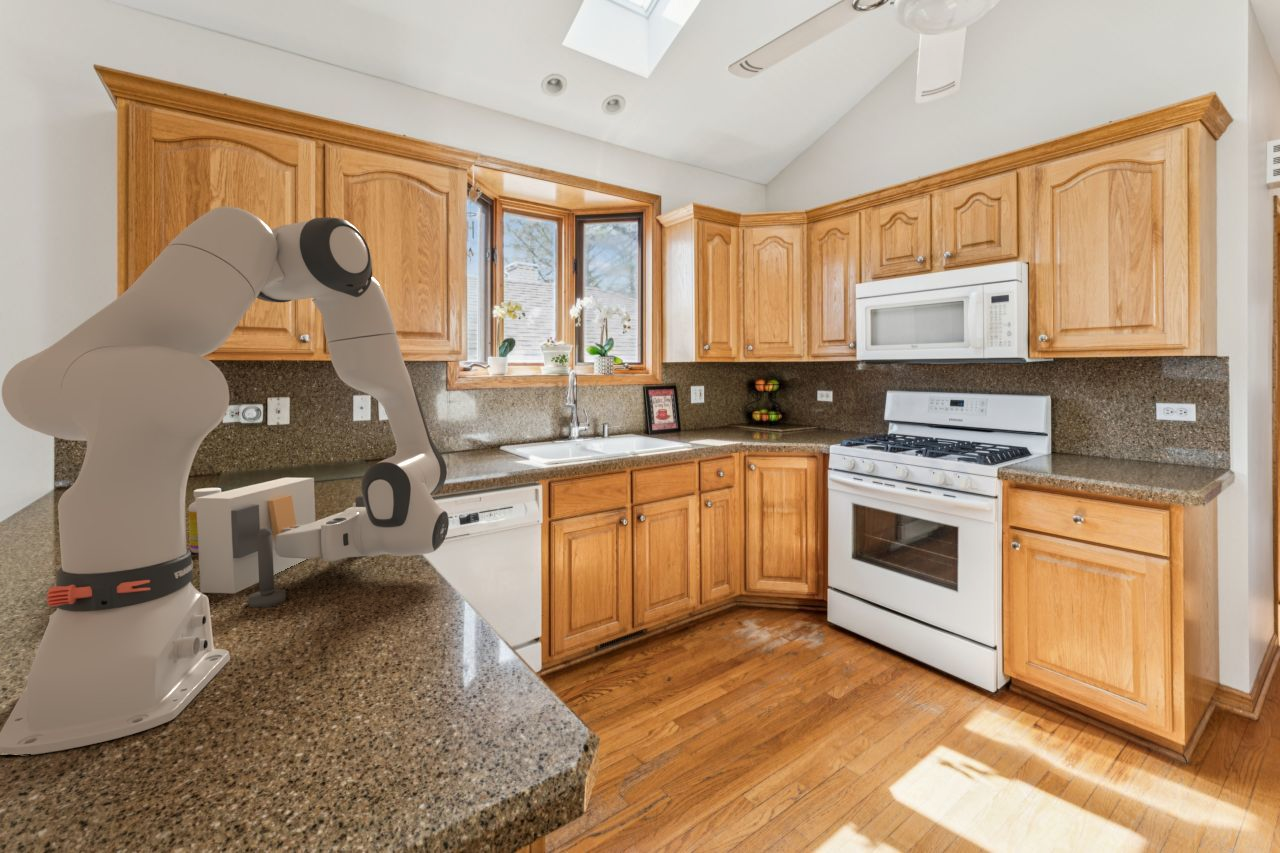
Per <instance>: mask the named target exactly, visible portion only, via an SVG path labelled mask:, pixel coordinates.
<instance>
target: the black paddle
mask: <svg viewBox="0 0 1280 853" xmlns="http://www.w3.org/2000/svg"><path fill="white" fill-rule="evenodd" d="M231 515H232V537H233V558H241V557H244V556H247V555H249V554H252V553H254V552H257V551H258V544H257V533H258V531H259V530H260V519H259V505H250V506H246V507H243V508H239V509H235V510H232V511H231Z"/></svg>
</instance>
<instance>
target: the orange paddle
mask: <svg viewBox="0 0 1280 853" xmlns="http://www.w3.org/2000/svg"><path fill="white" fill-rule="evenodd" d="M268 506H269V512H270V518H271V523H272V529H273V535H274V541H275V536H276V535H278V534H280V533H282V529H285V528H288V527H291V526H294V525H296V519H295V513H294V507H293V501H292V495H289V496H284V497H280V498H277V499H273V500H269V501H268Z"/></svg>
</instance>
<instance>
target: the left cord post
mask: <svg viewBox="0 0 1280 853" xmlns="http://www.w3.org/2000/svg"><path fill="white" fill-rule="evenodd" d="M257 544H258V568H259V582H258V587H259V588H258V589H259V591H257V592H253V593H252V594H250V595H249V596H248V597H247V598H248V600H247V601H248V606H249V607H251V608H259V609H260V608H268V607H273V606H276V605H279V604H282V603H284V602H285V601H286V599H287V598H286V590H284V589H282V588H275V575H274V570H273V545H272V531H271V530H270V529H268V528H262V529H260V530H259V531H258V533H257Z"/></svg>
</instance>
